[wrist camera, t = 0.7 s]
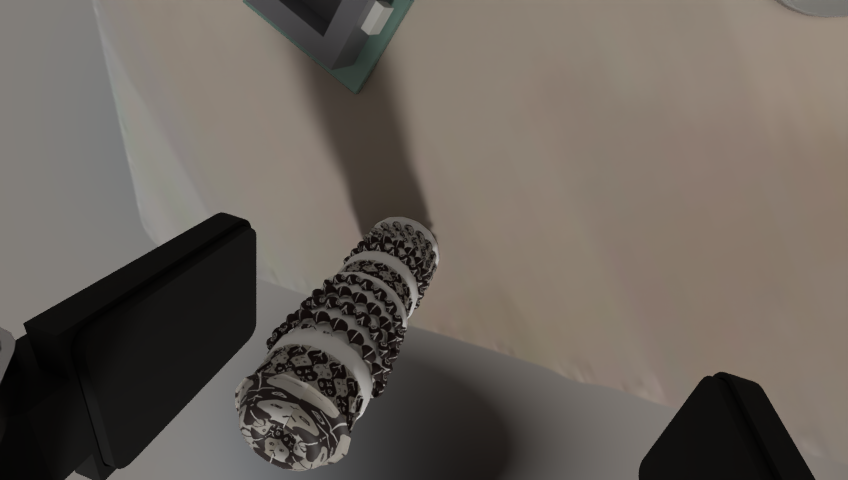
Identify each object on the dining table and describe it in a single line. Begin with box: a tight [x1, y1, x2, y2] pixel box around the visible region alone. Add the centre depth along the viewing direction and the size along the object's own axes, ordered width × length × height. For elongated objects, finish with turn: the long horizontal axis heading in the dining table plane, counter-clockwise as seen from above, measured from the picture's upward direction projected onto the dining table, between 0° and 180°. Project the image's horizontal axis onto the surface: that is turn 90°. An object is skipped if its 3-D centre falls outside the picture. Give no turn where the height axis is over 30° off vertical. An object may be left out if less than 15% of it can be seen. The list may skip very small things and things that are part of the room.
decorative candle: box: [235, 217, 440, 471], centre depth 37 cm, size 9×9×25 cm
